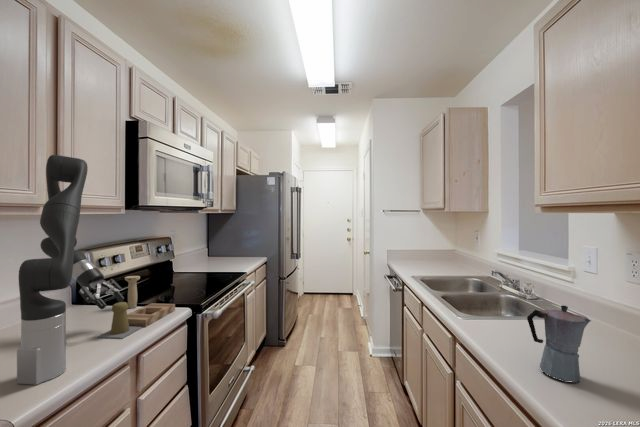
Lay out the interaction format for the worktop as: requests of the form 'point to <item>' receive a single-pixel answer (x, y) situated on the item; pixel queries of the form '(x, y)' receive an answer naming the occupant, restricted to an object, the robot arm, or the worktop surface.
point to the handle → (132, 290)
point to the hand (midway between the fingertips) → (113, 304)
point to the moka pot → (560, 342)
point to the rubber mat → (119, 336)
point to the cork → (120, 318)
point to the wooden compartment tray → (149, 314)
